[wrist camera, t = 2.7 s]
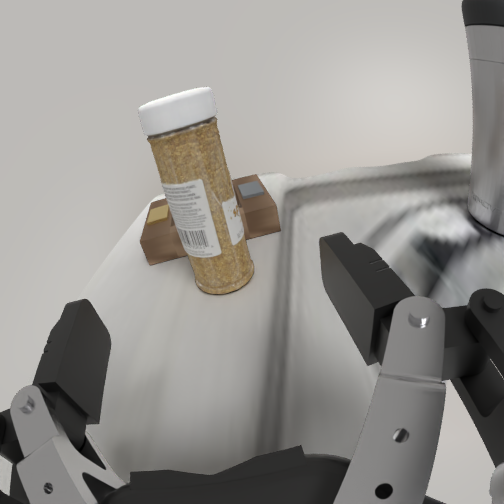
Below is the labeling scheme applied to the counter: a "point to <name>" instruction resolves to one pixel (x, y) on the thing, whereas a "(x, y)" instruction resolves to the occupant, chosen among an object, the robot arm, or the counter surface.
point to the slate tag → (250, 189)
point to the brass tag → (158, 215)
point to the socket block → (251, 211)
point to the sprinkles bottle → (199, 187)
